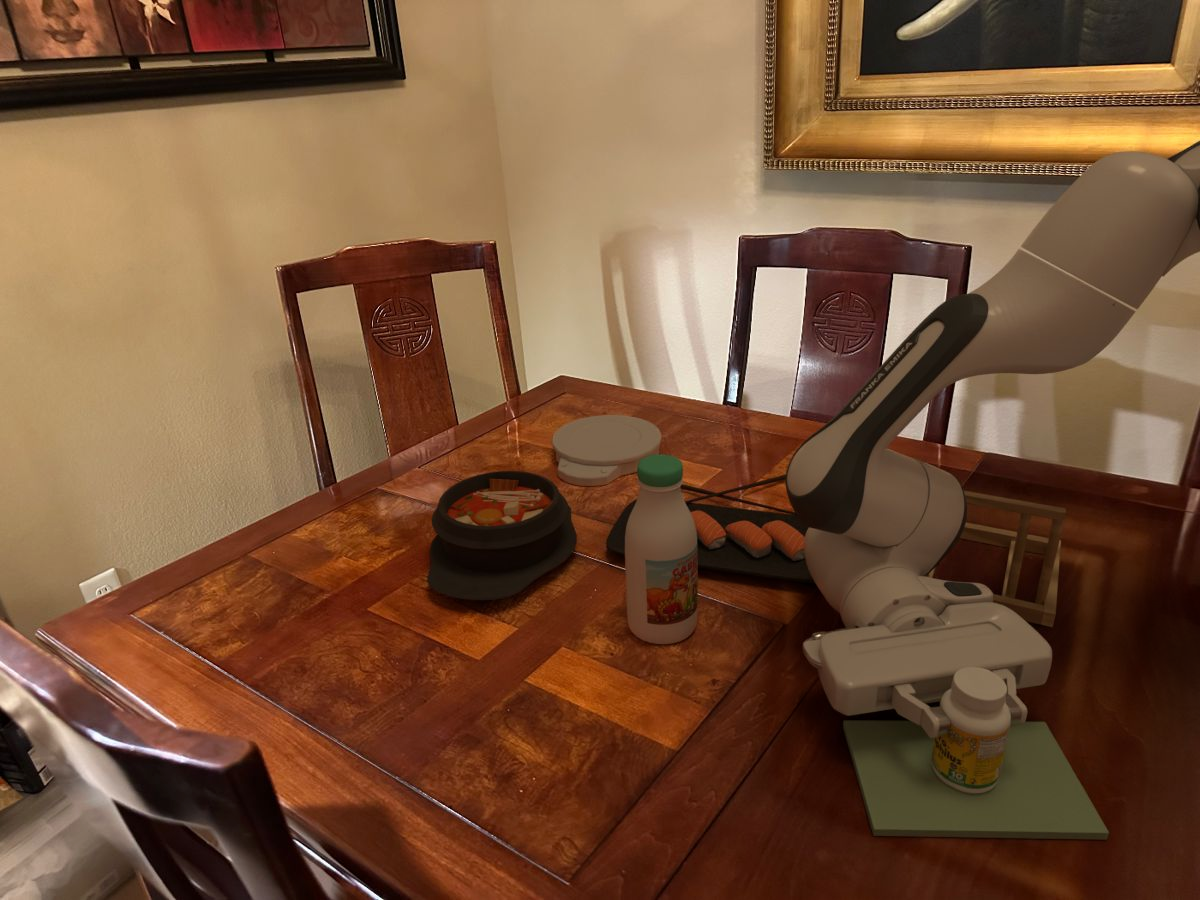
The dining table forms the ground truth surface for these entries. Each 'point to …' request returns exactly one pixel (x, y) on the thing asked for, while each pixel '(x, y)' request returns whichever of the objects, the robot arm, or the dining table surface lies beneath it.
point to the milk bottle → (661, 555)
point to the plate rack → (1018, 543)
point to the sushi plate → (739, 537)
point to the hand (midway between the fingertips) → (980, 724)
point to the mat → (934, 809)
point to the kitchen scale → (603, 448)
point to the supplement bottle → (973, 731)
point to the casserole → (498, 535)
